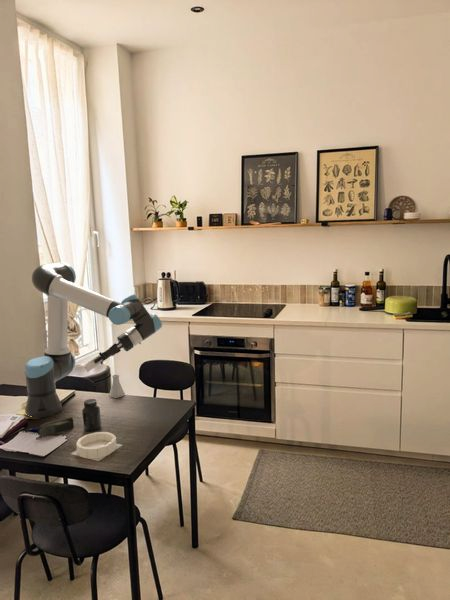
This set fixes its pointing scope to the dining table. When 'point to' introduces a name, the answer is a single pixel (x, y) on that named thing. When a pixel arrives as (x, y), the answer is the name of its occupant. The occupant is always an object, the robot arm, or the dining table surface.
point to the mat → (100, 457)
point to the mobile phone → (55, 427)
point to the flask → (116, 388)
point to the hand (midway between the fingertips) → (86, 368)
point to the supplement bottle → (91, 416)
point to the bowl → (96, 445)
